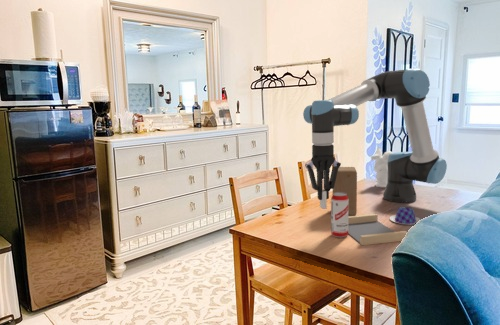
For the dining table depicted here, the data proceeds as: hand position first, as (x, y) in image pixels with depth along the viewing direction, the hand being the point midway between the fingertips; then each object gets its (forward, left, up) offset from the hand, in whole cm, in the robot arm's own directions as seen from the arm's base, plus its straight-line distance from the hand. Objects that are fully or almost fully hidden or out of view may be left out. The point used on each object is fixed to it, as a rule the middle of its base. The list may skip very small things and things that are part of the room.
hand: (323, 207), depth 135 cm
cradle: (-18, 0, -11) cm, 22 cm away
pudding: (-38, -8, -12) cm, 41 cm away
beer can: (-6, 0, -11) cm, 13 cm away
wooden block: (-19, -25, -11) cm, 34 cm away
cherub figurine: (-58, -64, -11) cm, 87 cm away
